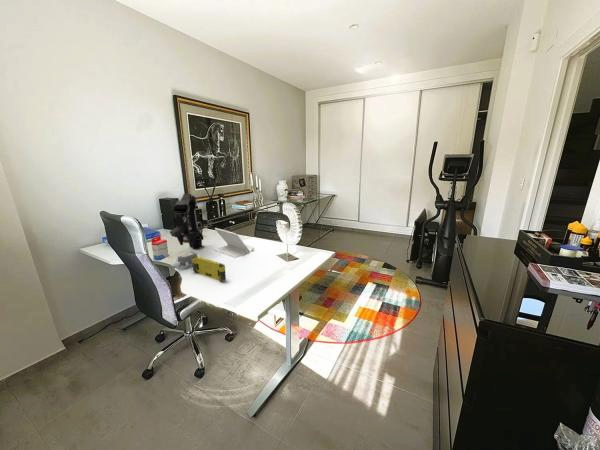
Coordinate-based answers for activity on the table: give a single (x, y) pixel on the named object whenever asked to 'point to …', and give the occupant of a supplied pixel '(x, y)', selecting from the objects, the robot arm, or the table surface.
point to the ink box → (159, 248)
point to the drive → (186, 258)
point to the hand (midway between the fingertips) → (186, 246)
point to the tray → (181, 265)
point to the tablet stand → (232, 244)
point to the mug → (190, 229)
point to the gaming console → (209, 268)
